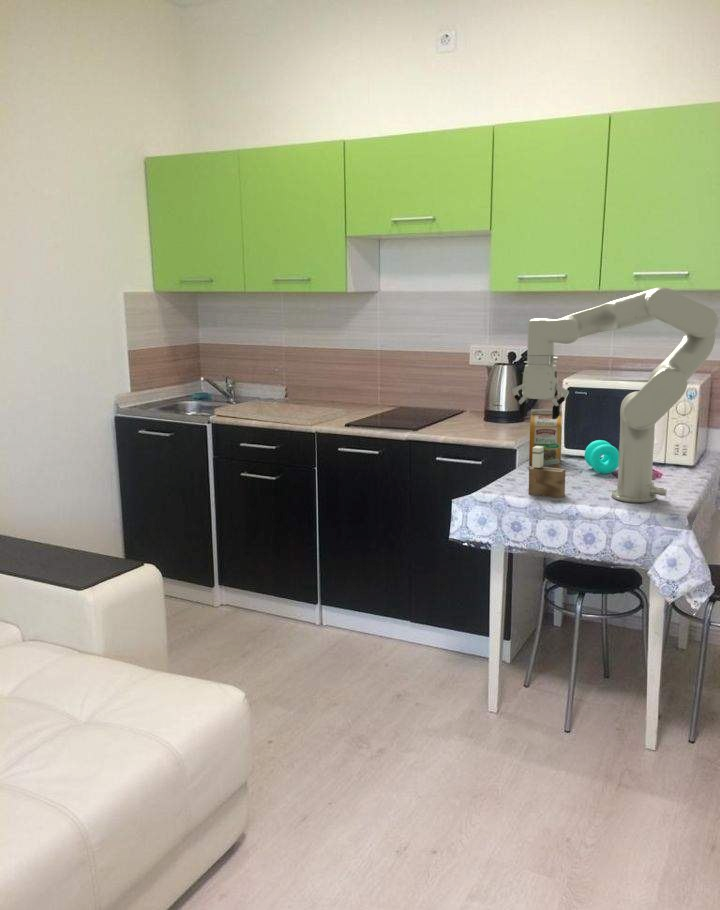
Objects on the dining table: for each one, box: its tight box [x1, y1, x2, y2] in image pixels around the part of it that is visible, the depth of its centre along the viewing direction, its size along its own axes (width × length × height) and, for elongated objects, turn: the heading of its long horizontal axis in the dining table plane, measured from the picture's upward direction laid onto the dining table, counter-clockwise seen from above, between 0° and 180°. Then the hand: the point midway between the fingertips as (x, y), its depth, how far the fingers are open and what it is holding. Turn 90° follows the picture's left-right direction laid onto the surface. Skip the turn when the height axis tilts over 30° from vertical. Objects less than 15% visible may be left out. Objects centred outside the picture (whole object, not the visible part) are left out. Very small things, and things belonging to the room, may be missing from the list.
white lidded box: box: [531, 446, 544, 468], centre depth 242 cm, size 2×3×6 cm
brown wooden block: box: [528, 466, 566, 499], centre depth 242 cm, size 10×4×8 cm, turn 58°
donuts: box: [584, 439, 619, 475], centre depth 268 cm, size 10×10×10 cm
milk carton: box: [528, 409, 563, 467], centre depth 281 cm, size 11×11×19 cm
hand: (539, 417), depth 239 cm, fingers open, 9 cm apart
